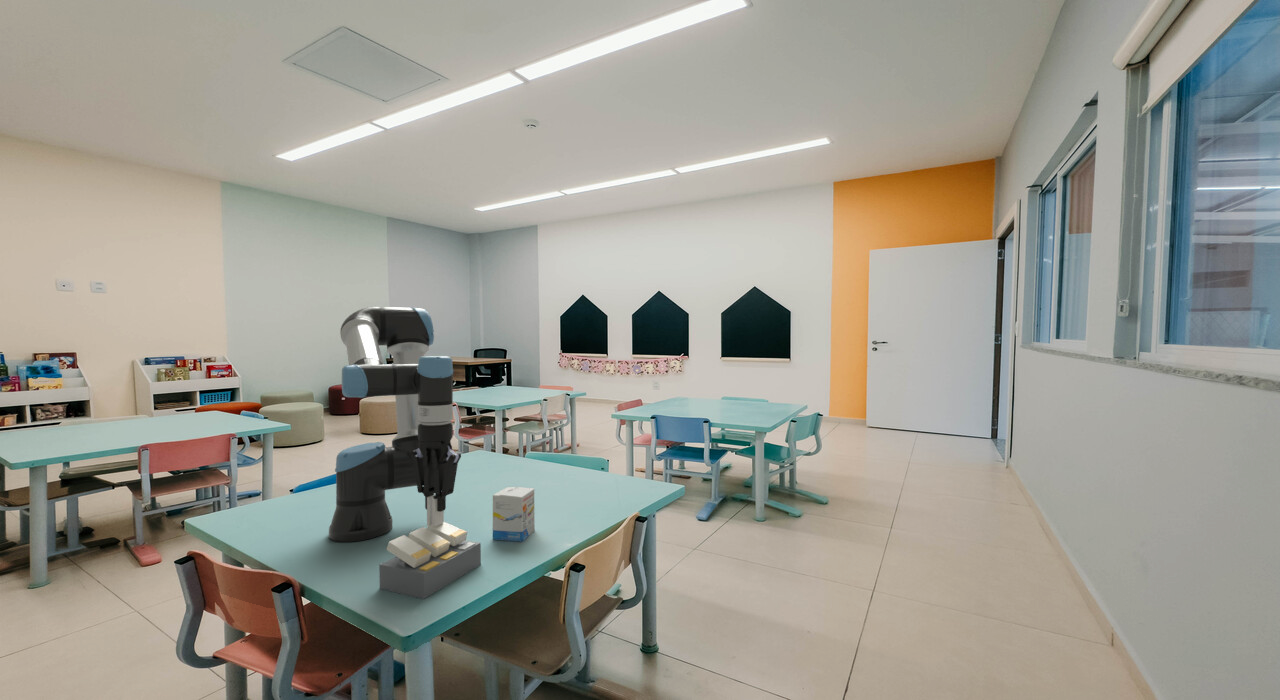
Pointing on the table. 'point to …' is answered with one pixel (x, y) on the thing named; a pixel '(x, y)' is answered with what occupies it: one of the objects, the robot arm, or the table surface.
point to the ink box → (513, 514)
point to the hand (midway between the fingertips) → (435, 524)
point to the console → (430, 570)
